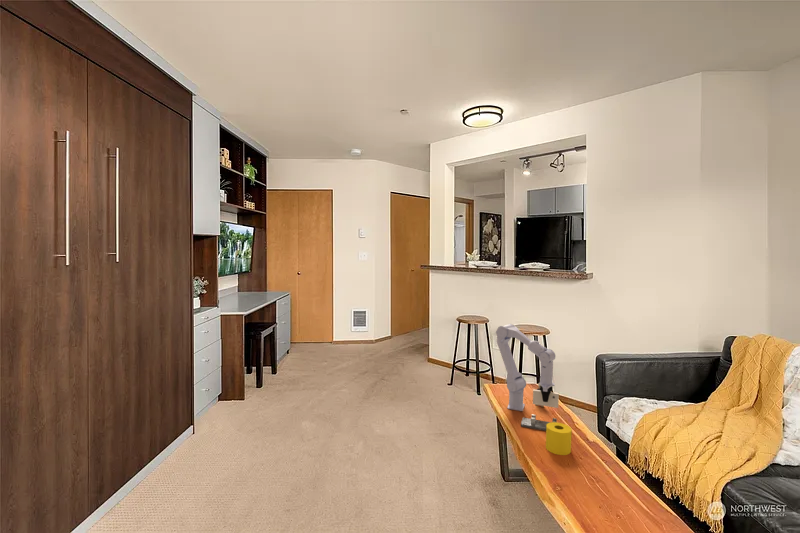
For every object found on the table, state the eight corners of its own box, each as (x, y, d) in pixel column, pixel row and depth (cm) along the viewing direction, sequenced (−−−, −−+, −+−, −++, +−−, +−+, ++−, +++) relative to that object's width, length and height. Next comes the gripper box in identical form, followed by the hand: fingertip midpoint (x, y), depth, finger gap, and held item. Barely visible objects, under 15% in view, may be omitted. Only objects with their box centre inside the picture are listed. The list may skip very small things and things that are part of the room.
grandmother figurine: (532, 405, 216) (533, 382, 215) (533, 403, 219) (534, 380, 219) (548, 408, 213) (549, 384, 212) (548, 405, 217) (549, 382, 216)
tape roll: (550, 454, 166) (550, 432, 166) (542, 442, 176) (543, 421, 176) (574, 455, 166) (575, 433, 165) (565, 443, 176) (566, 422, 175)
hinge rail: (522, 419, 199) (522, 411, 198) (566, 427, 191) (566, 418, 191) (520, 426, 191) (521, 417, 191) (566, 434, 184) (566, 425, 183)
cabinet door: (532, 402, 204) (533, 389, 203) (558, 406, 199) (558, 393, 199) (532, 404, 202) (533, 390, 201) (558, 408, 197) (558, 394, 197)
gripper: (554, 380, 192) (553, 407, 193) (555, 371, 205) (554, 397, 206) (538, 377, 194) (537, 405, 195) (541, 369, 208) (540, 394, 209)
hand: (545, 400), depth 201 cm, fingers closed on cabinet door, 1 cm apart
